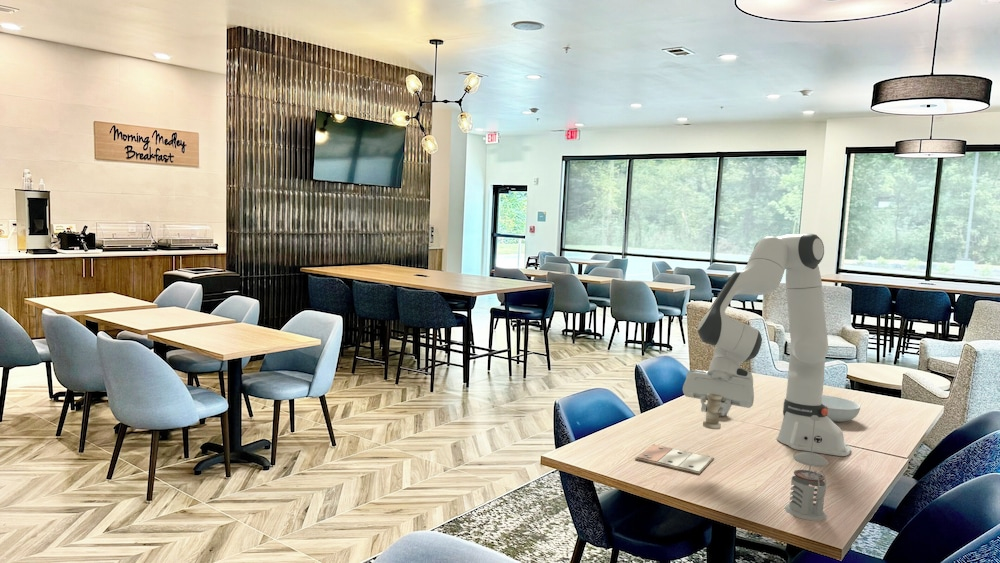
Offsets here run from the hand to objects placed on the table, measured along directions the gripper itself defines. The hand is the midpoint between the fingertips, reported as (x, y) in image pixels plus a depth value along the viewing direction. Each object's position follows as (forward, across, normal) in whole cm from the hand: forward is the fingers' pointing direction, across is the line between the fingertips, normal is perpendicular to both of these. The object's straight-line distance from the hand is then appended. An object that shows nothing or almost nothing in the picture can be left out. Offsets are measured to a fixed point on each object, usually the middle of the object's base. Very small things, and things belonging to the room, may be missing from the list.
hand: (712, 412), depth 200 cm
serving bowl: (-52, +25, +75) cm, 95 cm away
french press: (+24, +29, 0) cm, 38 cm away
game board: (+11, -10, +13) cm, 19 cm away
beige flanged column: (+3, 0, +4) cm, 4 cm away
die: (-34, -11, +57) cm, 67 cm away
